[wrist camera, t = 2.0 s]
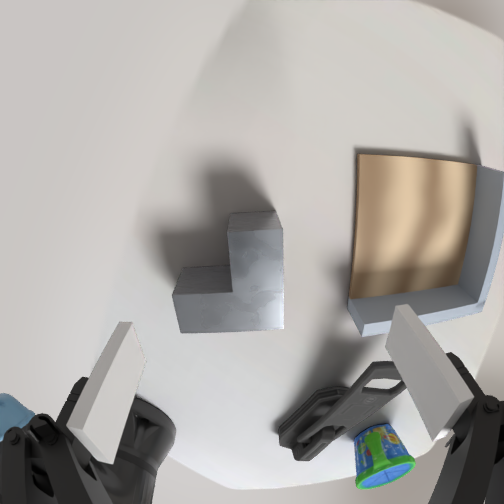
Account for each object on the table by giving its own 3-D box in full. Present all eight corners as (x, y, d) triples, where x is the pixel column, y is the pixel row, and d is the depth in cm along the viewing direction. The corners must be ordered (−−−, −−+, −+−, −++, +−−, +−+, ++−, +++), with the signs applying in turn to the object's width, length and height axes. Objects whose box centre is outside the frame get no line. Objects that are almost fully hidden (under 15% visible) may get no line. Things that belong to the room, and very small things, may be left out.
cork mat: (348, 296, 29) (350, 299, 29) (357, 153, 24) (359, 154, 23) (455, 282, 29) (457, 284, 29) (473, 164, 23) (477, 165, 23)
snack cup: (339, 425, 39) (352, 476, 30) (399, 402, 38) (419, 449, 29) (350, 456, 45) (360, 496, 36) (398, 438, 44) (412, 476, 34)
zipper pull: (430, 370, 26) (324, 471, 35) (408, 336, 32) (318, 440, 41) (374, 362, 25) (273, 470, 34) (354, 323, 31) (270, 436, 40)
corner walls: (347, 308, 30) (361, 336, 25) (357, 153, 24) (381, 159, 19) (460, 291, 30) (481, 311, 25) (481, 165, 23) (511, 174, 19)
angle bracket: (189, 302, 29) (180, 333, 24) (175, 217, 26) (160, 237, 21) (278, 298, 29) (283, 328, 24) (275, 210, 25) (282, 228, 21)
